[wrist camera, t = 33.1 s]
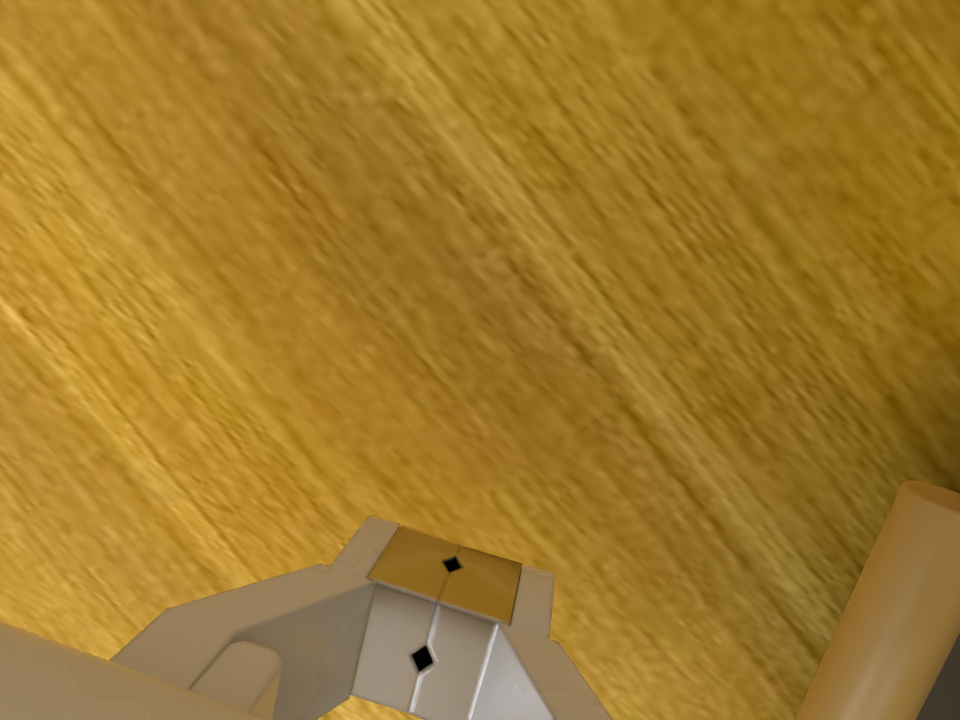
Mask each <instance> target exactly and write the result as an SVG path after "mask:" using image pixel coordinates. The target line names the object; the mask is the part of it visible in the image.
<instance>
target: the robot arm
mask: <svg viewBox="0 0 960 720" xmlns="http://www.w3.org/2000/svg"><path fill="white" fill-rule="evenodd" d="M521 565H522V566H521ZM554 584H555V575H554V573H553V572H551V571H547V570H543V569H540V568H536V567H532V566H528V565H525V564H522V563H519V562H515V561H512V560H508V559H505V558H502V557H498V556H495V555H491V554H488V553H484V552H481V551H478V550H474V549H471V548H467V547H464V546H461V545H460V544H457V543H454V542H451V541H448V540H445V539H442V538H439V537H436V536H433V535H430V534H427V533H424V532H421V531H419V530H416V529H413V528H410V527H407V526H404V525H400V523H396V522H393V521H389V520H386V519H383V518H379V517H376V516H373V515H372V516H369V517H367V518H366V519H365V521H364V522H363V523H362V525H361V526H360V527H359V529H358V530H357V531H356V533H355V534H354V535H353V536H352V538H351V539H350V540H349V542H348V543H347V544H346V546H345V547H344V548H343V550H342V551H341V552H340V554H339V555H338V556H337V557H336V559H335V560H334V561H333V563H332V564H331V565H330V566H327V565H324V564H318V565H314V566H311V567H308V568H304V569H301V570H297V571H294V572H291V573H287V574H284V575H280V576H277V577H274V578H270V579H267V580H263V581H260V582H257V583H253V584H250V585H246V586H243V587H240V588H236V589H233V590H229V591H226V592H223V593H219V594H216V595H212V596H209V597H206V598H202V599H199V600H195V601H192V602H189V603H185V604H182V605H178V606H175V607H171V608H168V609H166V610H165V611H164V612H162V613H161V614H160V615H159V616H158V617H157V618H156V619H155V620H154V621H152V622H151V623H150V624H149V625H148V626H147V627H146V628H145V629H144V630H142V631H141V632H140V633H139V634H138V635H137V636H136V637H135V638H134V639H133V640H131V641H130V642H129V643H128V644H127V645H126V646H125V647H124V648H123V649H121V650H120V651H119V652H118V653H117V654H116V655H115V656H114V657H113V658H111V659H110V660H109V661H108V660H106V659H103V658H100V657H98V656H95V655H92V654H89V653H87V652H84V651H81V650H78V649H76V648H73V647H70V646H67V645H65V644H62V643H59V642H56V641H54V640H51V639H48V638H45V637H43V636H40V635H37V634H34V633H32V632H29V631H26V630H24V629H21V628H18V627H15V626H13V625H10V624H7V623H4V622H2V621H0V720H317V719H318V718H320V717H321V716H323V715H324V714H326V713H327V712H329V711H330V710H332V709H334V708H335V707H337V706H338V705H340V704H341V703H343V702H344V701H346V700H347V699H349V697H350V695H353V696H356V697H359V698H362V699H365V700H368V701H372V702H375V703H378V704H381V705H384V706H387V707H390V708H393V709H397V710H400V711H403V712H406V713H408V712H409V714H411V715H414V716H416V717H419V718H422V719H424V720H613V719H612V718H611V716H610V715H609V714H608V712H607V711H606V709H605V708H604V706H603V705H602V704H601V702H600V701H599V699H598V698H597V696H596V695H595V694H594V692H593V691H592V689H591V688H590V686H589V685H588V684H587V682H586V681H585V679H584V678H583V676H582V675H581V674H580V672H579V671H578V669H577V668H576V666H575V665H574V663H573V662H572V661H571V659H570V658H569V656H568V655H567V653H566V652H565V651H564V649H563V648H562V646H561V645H560V643H559V642H556V641H553V640H550V639H549V638H550V627H551V616H552V605H553V595H554Z"/></svg>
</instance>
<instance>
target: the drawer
mask: <svg viewBox="0 0 960 720" xmlns="http://www.w3.org/2000/svg"><path fill="white" fill-rule="evenodd" d="M795 720H960V493H957V492H954V491H952V490H949V489H946V488H943V487H940V486H937V485H933V484H930V483H926V482H921V481H914V480H907V481H905V482H904V483H902V485H901V487H900V489H899V492H898V494H897V496H896V498H895V500H894V503H893V505H892V507H891V509H890V511H889V514H888V516H887V518H886V520H885V522H884V525H883V527H882V529H881V531H880V533H879V536H878V538H877V540H876V542H875V544H874V547H873V549H872V551H871V553H870V555H869V558H868V560H867V562H866V564H865V566H864V569H863V571H862V573H861V575H860V577H859V580H858V582H857V584H856V586H855V588H854V591H853V593H852V595H851V597H850V599H849V602H848V604H847V606H846V608H845V610H844V613H843V615H842V617H841V619H840V622H839V624H838V626H837V628H836V630H835V633H834V635H833V637H832V639H831V641H830V644H829V646H828V648H827V650H826V652H825V655H824V657H823V659H822V661H821V663H820V666H819V668H818V670H817V672H816V674H815V677H814V679H813V681H812V683H811V685H810V688H809V690H808V692H807V694H806V696H805V699H804V701H803V703H802V705H801V707H800V710H799V712H798V714H797V716H796V718H795Z"/></svg>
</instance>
